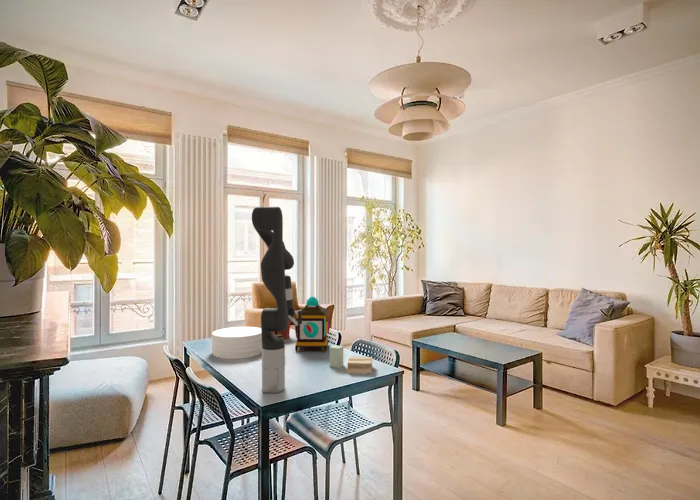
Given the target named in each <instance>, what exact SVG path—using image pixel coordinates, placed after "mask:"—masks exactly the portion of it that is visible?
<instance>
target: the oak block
mask: <svg viewBox="0 0 700 500" xmlns="http://www.w3.org/2000/svg"><path fill="white" fill-rule="evenodd" d="M348 358H349V359H348V361H347V374H359V373H371V374H372V371H373V356H349V357H348Z"/></svg>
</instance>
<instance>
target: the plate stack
mask: <svg viewBox="0 0 700 500" xmlns="http://www.w3.org/2000/svg"><path fill="white" fill-rule="evenodd" d="M211 336H212V337H211V355H212V354H213V355H214V356H213V355H212V356H213V357H215V356H216V357H215V358H218V357H220V358H219V359H225V358H226V359H229V360H231V359H232V360H233V359H236V360H237V359H245V358H246V357H247V358H252V357H255V355H256V356H258V355H259V356H260V355H262V333H261V327H257V326H232V327H224V328H220V329H216V330H214V331H212V333H211Z"/></svg>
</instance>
